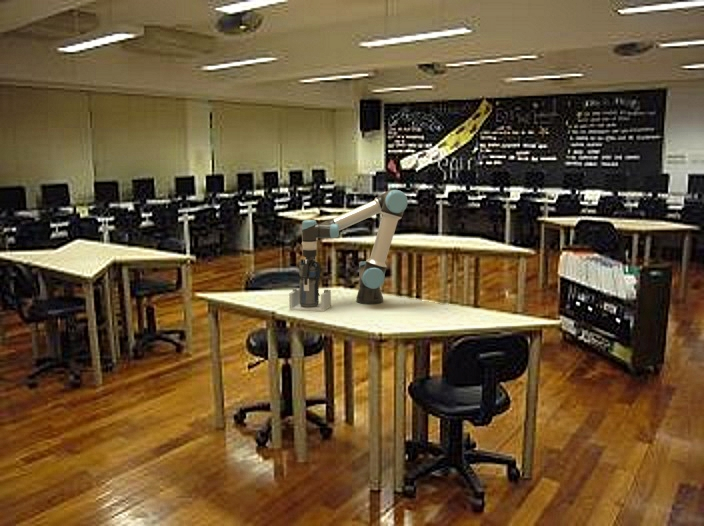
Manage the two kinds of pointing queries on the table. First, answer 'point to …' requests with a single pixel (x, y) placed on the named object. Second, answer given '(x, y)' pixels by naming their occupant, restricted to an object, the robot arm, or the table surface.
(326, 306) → the holder
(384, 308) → the table surface
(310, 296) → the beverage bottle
